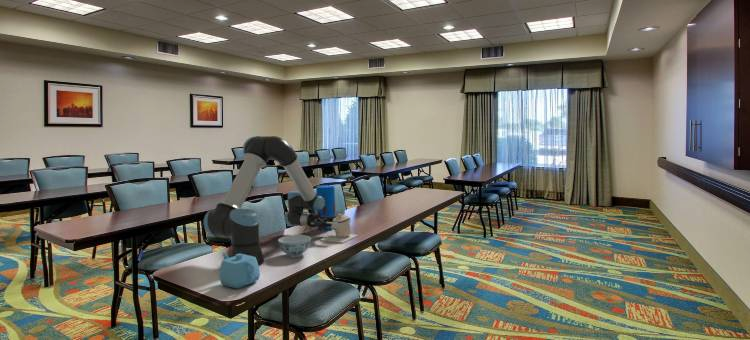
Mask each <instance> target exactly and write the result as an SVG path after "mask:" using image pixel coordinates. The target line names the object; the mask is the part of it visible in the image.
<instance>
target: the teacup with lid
mask: <svg viewBox="0 0 750 340" xmlns="http://www.w3.org/2000/svg"><path fill="white" fill-rule="evenodd" d="M336 216H337V217H336V218H334V219H333V222H334V223H338V228H332V229H333V230H332V231H334V233H336V236H337V237H345V236H348V235H350V234H352V232H353V231H352V227H351V221H350V222H349V218H350V217H349V216H348V215H345V214H342V213H338V214H337V215H336Z"/></svg>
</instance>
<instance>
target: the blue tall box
mask: <svg viewBox="0 0 750 340" xmlns="http://www.w3.org/2000/svg"><path fill="white" fill-rule="evenodd" d="M315 189H316V191H315V192H316V194H317V196H321V197H323V198H324V200H325V204H324V207H323V209H321V210H316V214H318V215H319V217H324V216H337V214H336V188H335V185H332V184H331V185H330V184H329V185H328V184H326V185H317V186H316V188H315ZM326 222H327V221H326ZM331 229H332V228H328V227H326V229H324V227H323V228H319V227H317V230H319V231H331Z"/></svg>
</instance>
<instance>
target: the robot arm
mask: <svg viewBox="0 0 750 340" xmlns="http://www.w3.org/2000/svg"><path fill="white" fill-rule="evenodd" d="M242 153H243V156H242V157H243V159H244V161H243V163H242V165H241V166H240V167H239V170H238V172H237V174H236V176H235V178H234V179H233V180H232V183H231V185H230V186H229V189H228V190H227V193H226V195H225V196H224V198H223V200H222V201H220V202H217V204H216V206H215V208H214V209H211V210H208V211H207V213H206V214H205V215H204V217H203V226H204V230H205V232H207V234H208V235H211V236H213V237H215V238H216V237H217V238H227V239H230V241H231V243H230V244H231V248H230V252H229V255H228V257H229V258H230V257H234V256H235V255H236V254H244V255H249V256H253V257H256V260H257V262H258V266H260V265H263V264H264V263H265V255H264V254H263V251H262V248H261V245H260V225H259V224H260V220H259V213H258V212H257V211H255V209H254V210H253V209H251V208H250V209H249V208H242V207H243V204H244V203H245V201H246V199H247V197H248V195H249V193H250V192H251V191H250V190H251V189H252V187H253V185H254V183H255V181H256V179H257V177H258V174H259V173H260V171H261V168H265V167H266V166H267V164H268V162H269V160H270V161H276V162H278V164H279V166H280V167H283V168H284V170H285V172H286V173H287V175H288V177H289V178H290V180H291V181H292V183H293V185H294V186H295V188H296V190H291V191H288V192H287V206H288V211H287V212H285V214H284V219H283V220H284V223H285V224H286V225H289V226H293V227H294V226H296V227H297V226H298V227H299V226H300V227H305V228H307V227H309V228H318V227H319V228H323V227H324V229H326V227H328V228H338V223H334V222H333V219H334V218H336V217H337V216H338V215H336V216H324V217H319V215H318V214H317V213H311V212H303V210H312V211H317V210H321V209H323V207H324V204H325V200H324V198H323V197H321V196H317V194H316V191H315V188H314V187H313V185H312V184H311V182H310V180H309V178H308V177H307V175H306V173H305V171H304V169H303V167H302V166H301V164H300V163H299V161H298V154H297V152H296V151H295V150H294V148H293V146H292V145H290V144H289V143H288V142H287V141H286V140H285V139H283V138H282V137H279V136H276V135H273V136H272V135H271V136H267V135H266V136H264V135H263V136H261V135H260V136H259V135H256V136H251V137H249V138H248V139H246V140H245V142H244V143H243V145H242ZM326 221H327V222H326ZM349 222H350V223H351V217H349Z"/></svg>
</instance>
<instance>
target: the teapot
mask: <svg viewBox="0 0 750 340" xmlns="http://www.w3.org/2000/svg"><path fill="white" fill-rule="evenodd" d="M221 255H222V257H223V260H222V261H221V266H220V269H219V271H220V272H219V282H220V283H221V285H223V286H225V287H229V288H234V289H242V288H243V287H244V286H248V285H252V284H254V283H255V282H257V281H259V280H260V276H261V274H260V267H259V266H260V265H258V262H257V260H256V257H253V256H249V255H244V254H236V255H235V256H234V257H230V258H229V255H228V254H227V253H226V252H221Z"/></svg>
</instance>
